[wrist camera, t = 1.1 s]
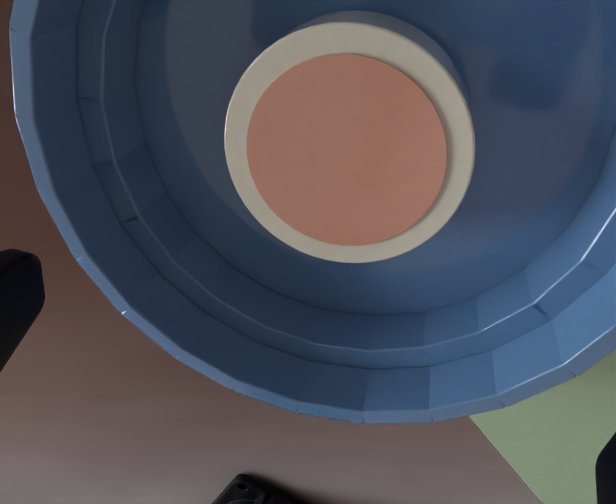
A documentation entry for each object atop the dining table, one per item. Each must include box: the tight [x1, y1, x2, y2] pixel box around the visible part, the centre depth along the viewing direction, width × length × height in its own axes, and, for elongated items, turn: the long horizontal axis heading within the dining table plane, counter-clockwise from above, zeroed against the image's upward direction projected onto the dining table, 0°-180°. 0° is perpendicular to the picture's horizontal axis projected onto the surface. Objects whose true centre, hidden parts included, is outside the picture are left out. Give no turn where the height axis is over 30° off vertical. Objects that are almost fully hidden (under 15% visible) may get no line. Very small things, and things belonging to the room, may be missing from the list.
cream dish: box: [224, 10, 476, 263], centre depth 16 cm, size 7×7×3 cm
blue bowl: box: [9, 0, 616, 424], centre depth 15 cm, size 17×17×4 cm
